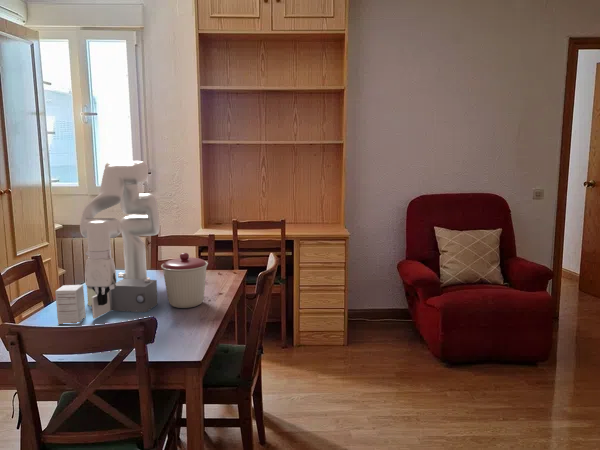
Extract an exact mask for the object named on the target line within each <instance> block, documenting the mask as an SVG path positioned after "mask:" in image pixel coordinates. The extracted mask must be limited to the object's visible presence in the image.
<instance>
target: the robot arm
mask: <svg viewBox="0 0 600 450" xmlns="http://www.w3.org/2000/svg"><path fill="white" fill-rule="evenodd" d="M148 177H149V167H148V165H147V163H146V162H145V161H141V160H112V161H108V162H107V163H106V164H105V165H104V170H103V174H102V178H101V184H100V189H99V193H98V195H97V196H95V197H94V198H92V200H90V201H89V202H88V203H87V205H86V206H85V207H84V209H83V211H82V213H81V218H80V223H79V231H80V234H81V236H82V237H83V238H85V239H87V251H85V255H86V256H87V257H88V258H87V259H86V260H85V267H84V284H85V286H86V288H87V287H88V288H89V289H93V290H94V291H95V293H96V294H97V299H98V305H105V304H107V301H108V299H107V293H108V292H109V291H110V290H112V289H115V288H116V284H115V283H116V282H117V277H118V278H119V279H143V280H145V279H150V280H151V277H150V276H148V275H147V273H148V272H147V258H146V257H147V256H146V254H147V253H146V244H145V242H144V241H143V239H142V238H141V237H143V236H145V237H147V236H157V235H158V234H159V233H160V230H161V225H160V224H161V223H160V214H159V206H158V201H157V198H156V196H155V195H154V194H153V193H148V192H147V193H146V192H145V193H140V192H139V188H138V187H139V186H138V185H140V184H142V183H143V182H145V181H146V180H147V179H148ZM118 204H119V205H120V211H121V212H122V213H123V214H124V215H125V214H126V216H124V217H122V218H121V219H118V218H115V217H95V216H96V215H97V214H99V213H100V212H102V211H105V210H107V209H110V208H112V207H114V206H116V205H118ZM120 234H121V238H122V242H123V244H122V245H123V258H124V272H118V275H117V271H116V265H115V261H114V258H113V257H112V248H111V247H112V246H111V239H114V238H117V237H119V236H120Z"/></svg>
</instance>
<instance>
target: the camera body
mask: <svg viewBox="0 0 600 450" xmlns="http://www.w3.org/2000/svg"><path fill="white" fill-rule="evenodd" d="M157 281H158V280H157V279H151V278H150V279H145V280H143V279H123V278H121V280H119V281H118V280H117V281H116V283H115V284H116V288H115V289H112V290H111V296H112V310H114V311H113V312H115V311H116V312H130V311H131V313H132V312H133V313H147V312H149V311H150V310H151V309H153V308H155V307H156V306H157V305H158V304H159V301H158V300H159V299H158V282H157Z"/></svg>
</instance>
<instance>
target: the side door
mask: <svg viewBox="0 0 600 450" xmlns="http://www.w3.org/2000/svg"><path fill="white" fill-rule="evenodd" d="M91 298H92V305H91V306H90V310H91V311H92V319H93V320H95V319H97V318H99V317H102V316H103V315H105V314H107V313H109V312H112V296H111V290H110V291H109V292H108V293H107V299H108V301H107V304H105V305H98V299H97V295H96V296H93V297H91Z"/></svg>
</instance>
